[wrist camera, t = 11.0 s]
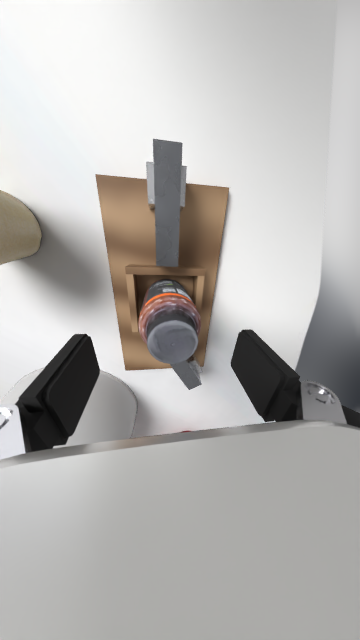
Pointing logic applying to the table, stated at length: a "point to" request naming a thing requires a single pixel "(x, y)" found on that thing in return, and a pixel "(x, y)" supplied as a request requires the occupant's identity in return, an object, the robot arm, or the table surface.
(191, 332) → the supplement bottle
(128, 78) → the table surface
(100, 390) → the kettle
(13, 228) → the flower pot
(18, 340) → the table surface
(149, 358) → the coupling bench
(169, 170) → the pair of grey blocks
